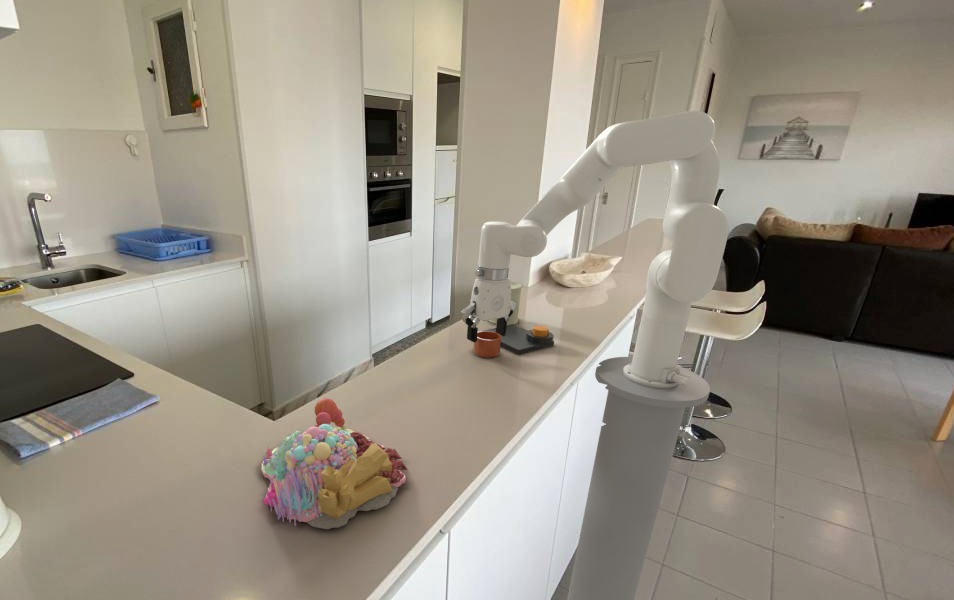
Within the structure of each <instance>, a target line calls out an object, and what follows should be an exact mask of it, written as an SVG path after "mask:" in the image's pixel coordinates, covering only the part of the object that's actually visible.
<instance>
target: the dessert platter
mask: <svg viewBox="0 0 954 600" xmlns="http://www.w3.org/2000/svg"><path fill="white" fill-rule="evenodd" d="M314 414H315V416H316V417H315V423H316V424H315V425H313V426H311V427H309V428H307V429H306V431H305V430H303V429H300V428H299V429H296V430H295V431H293V432H292V433H289V434H287V435H286V436H285V437H284V438H283V439H282V442H280V444H279V445H278V446H277V447H275V448H273V449H272V450H271V448H269V447H268V446H266V447H267V448H266V449H267V450H266V452H265V454H266V457H265V456H263V460H262V462H261V467H260V470H261V474H262V476H263V477H264V478H265V479H268V480H269V482H270V483H269V486H268V488H267V490H266V491H267V493H266V494H265V497H264V498H263V500H262V502H263V505H265V506H269V507H270V512H273V509H274V512H275V515H277V520H280V519H282V522H283V523H284V522H285V518H286V520H287V521H289V523H292V520H293V522H294V523H293V524H294V526H295V527H296V526H297V521H298V522H299V523H302V522H304V523H307V524H308V525H309V526H310V527H313V528H317V529H324V530H330V529H332V528H337V529H339V528H341V527H343V526H345V525H347V523H348V521H349V519H352V518H354V517H355V516H356V514H357V512H359V511H362V512H369V511H371V510H379V509H381V508H383V507H385V506H387V505H389V504H390V502H391V499H393V498H395V497H396V495H397V492H398V491H399V487H401V485H403V484H405V483H406V482H407V480H406V474H405V473H403V471H408V468H407V466H406V464H405V463H404V462H403V461H402V459H403V458H402V456H401V455H400V454H399V453H398V451H397V450H396V449H395V448H392V447H391V448H390V447H386V446H384V445H383V444H380V443H379V444H378V443H374V441H372V440H371V439H370V437H369V436H367V435H365V434H363V433H362V432H358V431H355V430H353V429H351V428H346V425H345V423H346V422H345V418H344V417H343V413H342V410H341V409H340V408H338V406H337V403H336V402H335V401H334V400H333V399H331V398H327V397H325V398H321V399H319V400H318V401H316V404H315V406H314ZM332 423H334V425H335V427H333V426H332V425H331V424H332Z"/></svg>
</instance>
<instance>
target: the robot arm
mask: <svg viewBox="0 0 954 600" xmlns="http://www.w3.org/2000/svg"><path fill="white" fill-rule="evenodd" d="M715 135H716V125H715V121H714V120H713V118H712V117H711V116H710V115H709V114H708V113H706V112H704V111H701V110H688V111H681V112H677V113H673V114H667V115H662V116H656V117H651V118H645V119H638V120H631V121H630V120H629V121H624V122H620V123H615V124H612V125H609V126H608V127H607V128H605V129H604V130H603V131H602V132H601V133H600V134H599V135H598V136H597V137H596V138H595V139H594V140H593V142H592V143H590V145H589V146H587V148H586V149H585V150H584V151H583V152H582V154H581V155H580V156H579V157H578V158H577V159H576V160H575V161H574V163H572V165H571V166H570V167H569V168H568V169H567V170H566V171H565V172H564V173H563V174H562V175H561V176H560V177H559V179H558V180H557V181H556V182H555V183H554V184H553V185H552V186H551V187H550V188H549V190H547V192H545V194H544V195H543V196H542V197H541V198H539V200H538V201H536V203H535V204H534V205H533V206H532V207H531V208H530V209H529V210H528V212H527V213H526V214H524V216H523V217H521V219H520V220H519V221H518V223H517V224H516V225H512V224H511V223H509V222H506V221H495V220H494V221H487V222H484V223H483V224H482V225H481V230H480V240H479V251H478V262H477V270H475V272H474V275H475V277H476V278H475V279H474V282H473V286H472V290H471V295H470V300H469V301H470V303H469V304H468V305H467V306H466V307H464V308H463V309H462V310H460V315H461V317H462V321H463V322H464V323H465V325H466V326H467V330H466V331H467V332H466V339H467V340H468V341H470V342H472V343H474V342H476V341H477V332H479V328H478V327H477V325H478V324H479V323H480V322H481V321H483V322H485V321H489V320H492V319H497V318H498V319H497V324H495V325H496V326H495V328H496V333H498V334H500V335H502V336H505V335H506V328H507V321H509V320H510V318H509V317H510V316H511V315H512V314H513V310H514V308H515V306H516V303H515V302H513V301H511V282H512V281H511V278H510V277H509V271H510V264H511V255H514V256H518V257H523V258H534V257H537V256H539V255H540V254H542V253H543V252H544V250H545V249H546V247H547V243H548V238H547V236H548V235H549V234H550V233H551V232H552V231H553V230H554V229H555V228H556V227H557V225H559V224H560V223H561V222H562V221H563V220H564V219H565V218H566V217H568V216H569V215H570V214H572V213H573V212H575V211H578V210H580V209H582V208H584V207H585V206H586V205H588V204H589V203H590V202H592V200H593V199H595V197H596V196H597V195H598V194H599V193H600V192H601V191H602V190H603V188H605V186H606V185H608V183H610V181H611V180H612V179H613V178H614V177H616V175H617V174H618V173H620V172H621V170H622V169H623V168H629V167H630V168H631V167H637V166H645V165H651V164H652V165H653V164H658V163H665V162H668V163H669V165H670V169H671V180H670V188H669V194H668V199H667V203H666V207H665V212H664V217H663V219H662V234H663V235H664V237H665V238H666V239H667V240H668V241H670V242H671V243H672V245H671V248H670V249H667V250H663V251H662V252H660V253H658V254H657V255H656V256H655V257H654V258H653V259H652V261H651V263H650V265H649V268H648V270H647V275H646V276H647V277H646V289H645V297H644V302H643V303H644V304H643V308H642V313H641V316H640V317H641V318H640V322H639V327H638V331H637V336H636V340H635V346H634V350H633V355H632V357H633V359H632V364H628V365H626V366H625V367H624V368H623V374H624V375H625V376H626V377H627V378H628V379H630V380H631V381H633V382H636V383H638V384H641V385H644V386H649V387H655V388H672V387H675V386H678V385H679V384H681V385H683V386H688V384H689V382H690V376H689V375H687V374H683V373H681V371H680V368H681V367H682V365H681V364H678V361H679V357H680V354H681V353H680V352H681V349H682V345H683V342H684V341H683V340H684V337H685V334H686V328H687V326H688V322H689V318H690V313H691V307H692V303H696V302H699V301H701V300H702V299H704V298H705V297H706V296H708V295H709V293H710V292H711V291H712V290H713V288H714V286H715V284H716V282H717V279H718V275H719V272H720V268H721V264H722V261H723V257H724V253H725V249H726V245H727V241H728V237H729V222H728V221H729V220H728V218H727V216H726V214H725V212H724V211H723V210H722V209H720V208H719V207H718V206H717V205H715V199H716V194H717V189H718V184H719V183H718V182H719V177H720V171H721V170H720V169H721V167H720V166H721V164H720V156H719V153H718V150H717V148H716V146H715V144H714V142H713V140H714V137H715ZM499 318H500V319H499Z"/></svg>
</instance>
